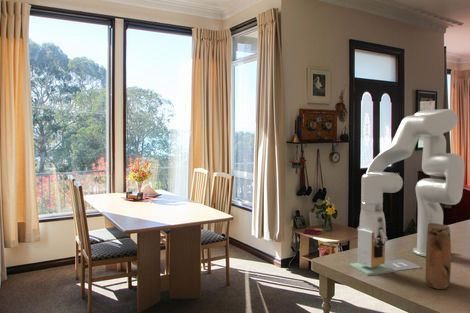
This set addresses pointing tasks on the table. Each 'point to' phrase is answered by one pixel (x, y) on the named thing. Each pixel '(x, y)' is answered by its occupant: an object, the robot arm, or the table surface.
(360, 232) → the small box
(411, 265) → the slate tile
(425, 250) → the robot arm
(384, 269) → the sage board
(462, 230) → the table surface
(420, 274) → the table surface
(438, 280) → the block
